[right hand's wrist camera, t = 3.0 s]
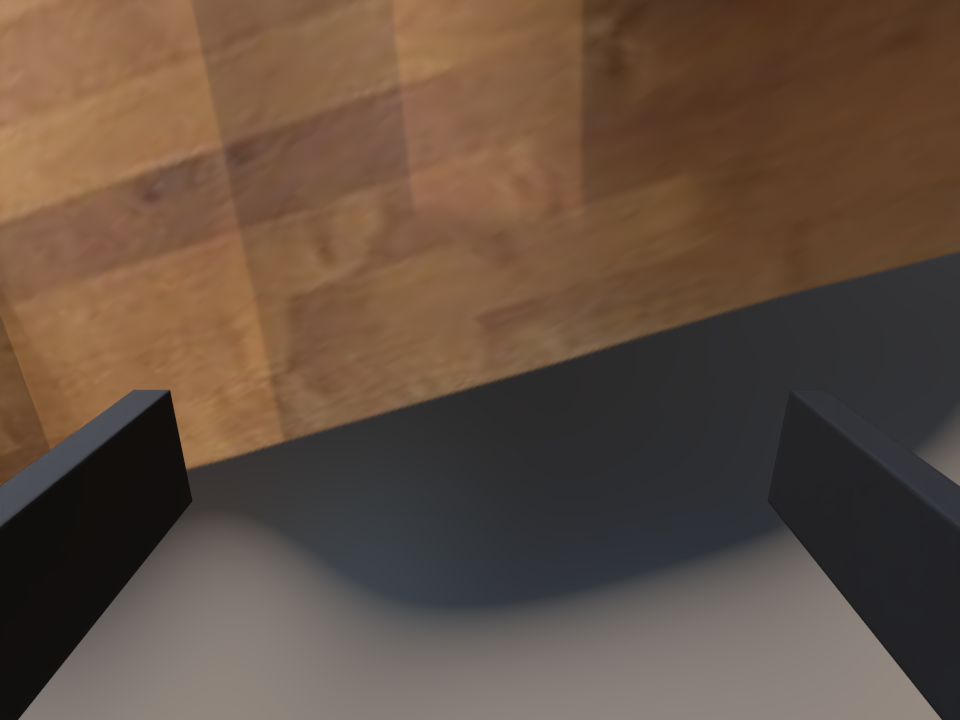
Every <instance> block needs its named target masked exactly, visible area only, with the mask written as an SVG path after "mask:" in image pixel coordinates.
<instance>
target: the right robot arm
mask: <svg viewBox="0 0 960 720" xmlns="http://www.w3.org/2000/svg"><path fill="white" fill-rule="evenodd" d="M191 502H192V497H191V492H190V487H189V482H188V477H187V472H186V467H185V462H184V457H183V452H182V447H181V442H180V437H179V432H178V427H177V422H176V418H175V413H174V408H173V403H172V398H171V393H170V390H133V391H132V392H130V393H129V394H128V395H126V396H125V397H123V398H122V399H121V400H119V401H118V402H117V403H115V404H114V405H112V406H111V407H110V408H108V409H107V410H105V411H104V412H103V413H101V414H100V415H99V416H97V417H96V418H94V419H93V420H92V421H90V422H89V423H87V424H86V425H85V426H83V427H82V428H81V429H79V430H78V431H76V432H75V433H74V434H72V435H71V436H69V437H68V438H67V439H65V440H64V441H63V442H61V443H60V444H58V445H57V446H56V447H54V448H53V449H51V450H50V451H49V452H47V453H46V454H45V455H43V456H42V457H40V458H39V459H38V460H36V461H35V462H33V463H32V464H31V465H29V466H28V467H26V468H25V469H24V470H22V471H21V472H20V473H18V474H17V475H15V476H14V477H13V478H11V479H10V480H8V481H7V482H6V483H4V484H3V485H2V486H0V720H18V719H19V718H20V717H21V715H22V714H23V713H24V712H25V710H26V709H27V708H28V707H29V705H30V704H31V703H32V702H33V700H34V699H35V698H36V696H37V695H38V694H39V693H40V692H41V690H42V689H43V688H44V687H45V685H46V684H47V683H48V682H49V680H50V679H51V678H52V677H53V675H54V674H55V673H56V671H57V670H58V669H59V668H60V666H61V665H62V664H63V663H64V661H65V660H66V659H67V658H68V656H69V655H70V654H71V653H72V651H73V650H74V649H75V648H76V646H77V645H78V644H79V643H80V641H81V640H82V639H83V638H84V636H85V635H86V634H87V633H88V631H89V630H90V629H91V628H92V626H93V625H94V624H95V623H96V621H97V620H98V619H99V618H100V616H101V615H102V614H103V613H104V611H105V610H106V609H107V608H108V606H109V605H110V604H111V602H112V601H113V600H114V599H115V597H116V596H117V595H118V594H119V592H120V591H121V590H122V589H123V587H124V586H125V585H126V584H127V582H128V581H129V580H130V579H131V577H132V576H133V575H134V574H135V572H136V571H137V570H138V569H139V567H140V566H141V565H142V564H143V562H144V561H145V560H146V559H147V557H148V556H149V555H150V553H151V552H152V551H153V550H154V549H155V547H156V546H157V545H158V544H159V542H160V541H161V540H162V539H163V537H164V536H165V535H166V534H167V532H168V531H169V530H170V528H171V527H172V526H173V525H174V523H175V522H176V521H177V520H178V518H179V517H180V516H181V515H182V513H183V512H184V511H185V510H186V508H187V507H188V506H189V505H190V503H191ZM768 502H769V503H770V505H771V506H772V507H773V508H774V510H775V511H776V512H777V513H778V515H779V516H780V517H781V518H782V520H783V521H784V522H785V523H786V525H787V526H788V527H789V528H790V530H791V531H792V532H793V533H794V535H795V536H796V537H797V539H798V540H799V541H800V542H801V544H802V545H803V546H804V547H805V549H806V550H807V551H808V552H809V554H810V555H811V556H812V557H813V559H814V560H815V561H816V562H817V564H818V565H819V566H820V567H821V569H822V570H823V571H824V572H825V574H826V575H827V576H828V577H829V579H830V580H831V581H832V582H833V584H834V585H835V586H836V587H837V589H838V590H839V591H840V592H841V594H842V595H843V596H844V597H845V599H846V600H847V601H848V602H849V604H850V605H851V606H852V608H853V609H854V610H855V611H856V613H857V614H858V615H859V616H860V618H861V619H862V620H863V621H864V623H865V624H866V625H867V626H868V628H869V629H870V630H871V631H872V633H873V634H874V635H875V636H876V638H877V639H878V640H879V641H880V643H881V644H882V645H883V646H884V648H885V649H886V650H887V651H888V653H889V654H890V655H891V656H892V658H893V659H894V660H895V661H896V663H897V664H898V665H899V666H900V668H901V669H902V670H903V671H904V673H905V674H906V675H907V677H908V678H909V679H910V680H911V682H912V683H913V684H914V685H915V687H916V688H917V689H918V690H919V692H920V693H921V694H922V695H923V697H924V698H925V699H926V700H927V701H928V703H929V704H930V705H931V707H932V708H933V709H934V710H935V712H936V713H937V714H938V715H939V717H940V718H941V719H942V720H960V486H958V485H957V484H956V483H954V482H953V481H951V480H950V479H949V478H947V477H946V476H945V475H943V474H942V473H940V472H939V471H938V470H936V469H935V468H934V467H932V466H931V465H929V464H928V463H927V462H925V461H924V460H922V459H921V458H920V457H918V456H917V455H915V454H914V453H913V452H911V451H910V450H908V449H907V448H906V447H904V446H903V445H902V444H900V443H899V442H897V441H896V440H895V439H893V438H892V437H891V436H889V435H888V434H886V433H885V432H884V431H882V430H881V429H879V428H878V427H877V426H875V425H874V424H873V423H871V422H870V421H868V420H867V419H866V418H864V417H863V416H861V415H860V414H859V413H857V412H856V411H855V410H853V409H852V408H850V407H849V406H848V405H846V404H845V403H843V402H842V401H841V400H839V399H838V398H837V397H835V396H834V395H832V394H831V393H830V392H828V391H827V390H790V393H789V398H788V403H787V408H786V413H785V418H784V423H783V427H782V432H781V437H780V442H779V447H778V452H777V457H776V462H775V467H774V472H773V477H772V482H771V487H770V492H769V497H768Z"/></svg>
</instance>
